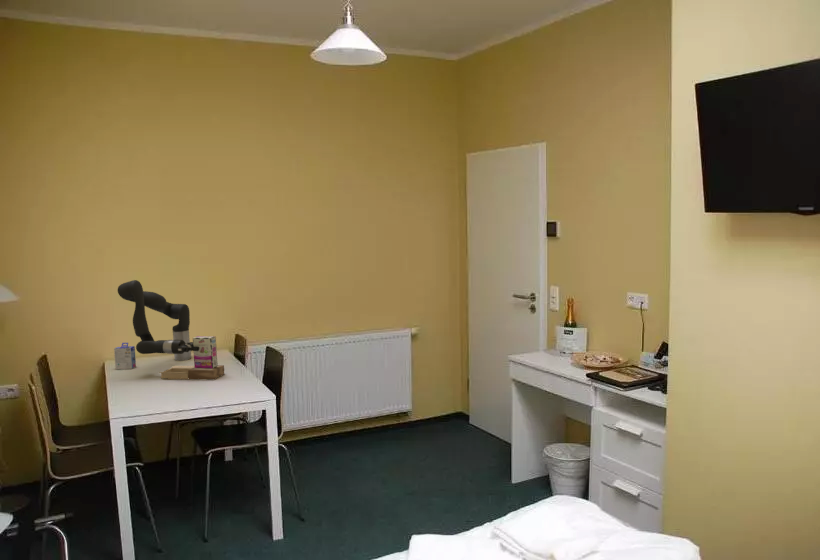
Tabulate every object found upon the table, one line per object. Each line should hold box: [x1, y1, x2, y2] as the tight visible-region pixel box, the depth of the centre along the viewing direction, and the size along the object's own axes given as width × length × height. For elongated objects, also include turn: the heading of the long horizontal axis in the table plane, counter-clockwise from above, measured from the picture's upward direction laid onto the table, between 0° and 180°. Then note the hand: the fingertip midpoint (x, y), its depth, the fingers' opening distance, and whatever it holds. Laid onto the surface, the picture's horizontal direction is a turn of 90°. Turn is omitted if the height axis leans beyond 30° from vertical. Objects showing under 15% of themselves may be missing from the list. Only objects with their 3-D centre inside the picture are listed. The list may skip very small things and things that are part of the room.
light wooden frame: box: [159, 365, 195, 380], centre depth 345 cm, size 14×16×4 cm
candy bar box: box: [192, 335, 218, 369], centre depth 342 cm, size 11×5×16 cm, turn 75°
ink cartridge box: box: [113, 342, 137, 370], centre depth 368 cm, size 10×6×14 cm, turn 89°
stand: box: [188, 364, 225, 380], centre depth 343 cm, size 12×14×5 cm
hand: (202, 346), depth 342 cm, fingers open, 8 cm apart
